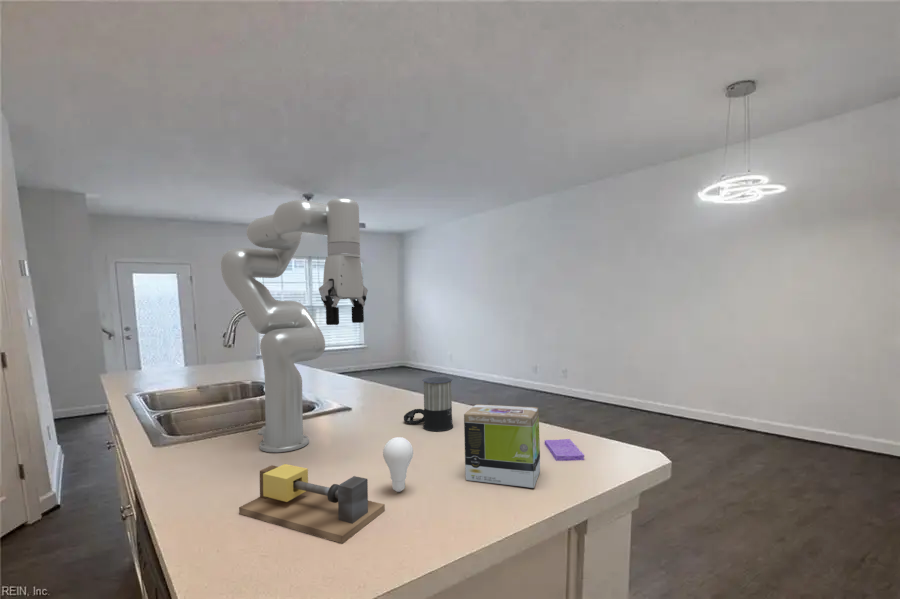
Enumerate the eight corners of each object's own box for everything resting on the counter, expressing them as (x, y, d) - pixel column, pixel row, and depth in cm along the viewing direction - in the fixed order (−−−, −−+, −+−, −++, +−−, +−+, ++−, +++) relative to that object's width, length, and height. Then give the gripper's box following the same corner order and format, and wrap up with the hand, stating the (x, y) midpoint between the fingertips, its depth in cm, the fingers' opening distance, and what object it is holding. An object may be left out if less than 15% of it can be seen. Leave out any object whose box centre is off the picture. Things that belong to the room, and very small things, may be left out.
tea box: (540, 471, 99) (540, 406, 99) (534, 490, 90) (533, 417, 90) (476, 464, 104) (475, 402, 104) (463, 481, 95) (463, 412, 95)
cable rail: (239, 513, 81) (238, 474, 81) (288, 488, 92) (288, 453, 92) (342, 543, 71) (342, 498, 71) (384, 510, 82) (384, 471, 82)
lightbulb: (389, 500, 86) (388, 444, 86) (379, 489, 91) (378, 436, 91) (418, 494, 88) (417, 439, 88) (407, 483, 94) (406, 431, 94)
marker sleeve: (263, 495, 83) (263, 473, 83) (285, 484, 88) (285, 463, 88) (286, 501, 80) (286, 479, 80) (308, 490, 85) (307, 468, 85)
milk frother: (453, 432, 130) (452, 381, 130) (399, 432, 130) (399, 382, 130) (453, 419, 144) (452, 373, 144) (405, 419, 144) (404, 374, 144)
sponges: (556, 463, 106) (555, 455, 106) (544, 445, 118) (543, 438, 118) (585, 462, 106) (584, 454, 106) (570, 445, 118) (569, 438, 118)
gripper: (352, 256, 114) (354, 322, 114) (306, 249, 98) (308, 325, 98) (377, 254, 111) (379, 321, 111) (333, 246, 95) (335, 325, 95)
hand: (345, 323), depth 105 cm, fingers open, 9 cm apart
